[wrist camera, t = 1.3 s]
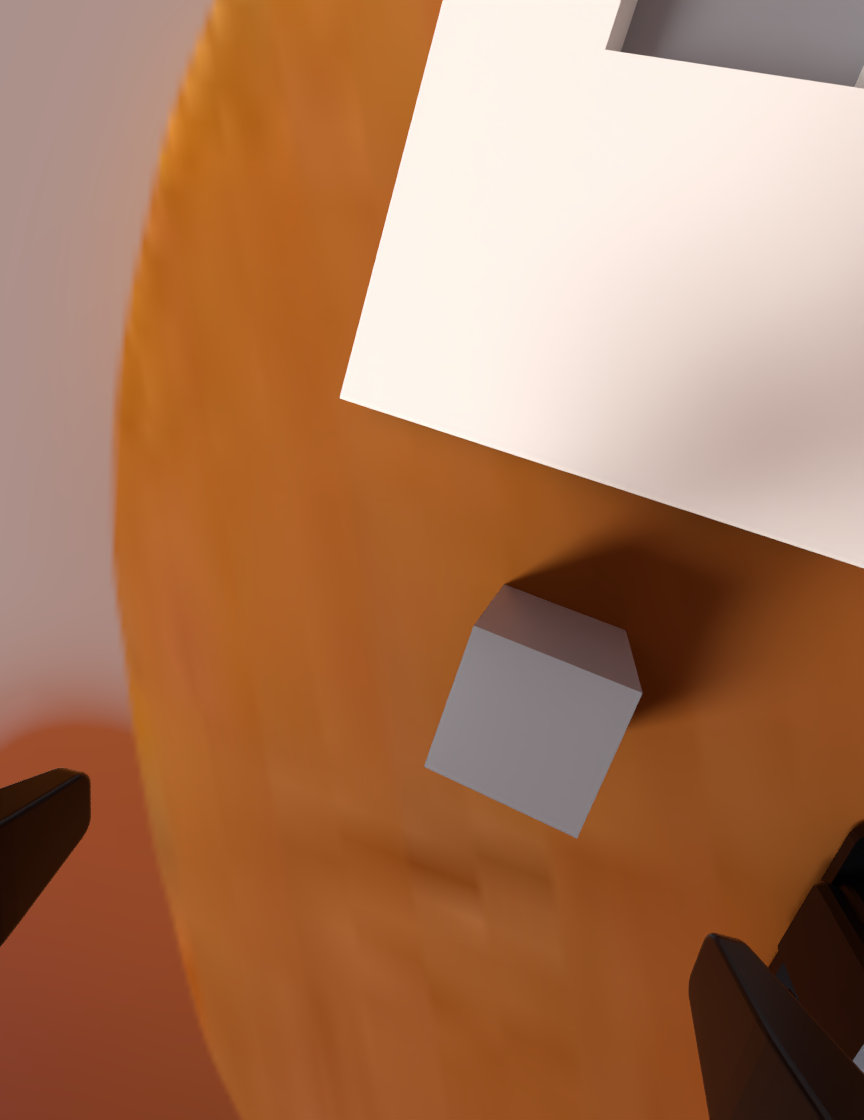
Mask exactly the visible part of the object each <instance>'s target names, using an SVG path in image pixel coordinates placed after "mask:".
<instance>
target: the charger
mask: <svg viewBox="0 0 864 1120" xmlns="http://www.w3.org/2000/svg"><path fill="white" fill-rule="evenodd" d="M641 696H642V689H641V685H640V681H639V678H638V674H637V670H636V666H635V663H634V659H633V655H632V651H631V648H630V644H629V640H628V636H627V633H626V630H624V629H621V628H618V627H616V626H613V625H610V624H608V623H605V622H603V621H600V620H597V619H595V618H592V617H589V616H587V615H584V614H581V613H579V612H576V611H573V610H571V609H568V608H566V607H563V606H560V605H558V604H555V603H552V602H550V601H547V600H544V599H542V598H539V597H536V596H534V595H531V594H529V593H526V592H523V591H521V590H518V589H515V588H513V587H510V586H507V585H505V584H504V585H503V586H502V588H501V589H500V591H499V592H498V593H497V595H496V596H495V597H494V599H493V600H492V601H491V603H490V604H489V606H488V607H487V608H486V610H485V611H484V612H483V614H482V615H481V616H480V618H479V619H478V621H477V622H476V623H475V625H474V627H473V629H472V632H471V635H470V638H469V641H468V644H467V646H466V649H465V652H464V655H463V658H462V661H461V663H460V666H459V669H458V672H457V675H456V678H455V680H454V683H453V686H452V689H451V692H450V695H449V697H448V700H447V703H446V706H445V709H444V711H443V714H442V717H441V720H440V723H439V726H438V728H437V731H436V734H435V737H434V740H433V743H432V745H431V748H430V751H429V754H428V757H427V760H426V762H425V765H424V767H426V768H428V769H430V770H432V771H434V772H436V773H439V774H441V775H443V776H445V777H447V778H449V779H451V780H454V781H456V782H458V783H460V784H462V785H464V786H466V787H468V788H471V789H473V790H475V791H477V792H479V793H481V794H483V795H485V796H488V797H490V798H492V799H494V800H496V801H498V802H500V803H503V804H505V805H507V806H509V807H511V808H513V809H515V810H517V811H520V812H522V813H524V814H526V815H528V816H530V817H532V818H534V819H537V820H539V821H541V822H543V823H545V824H547V825H549V826H552V827H554V828H556V829H558V830H560V831H562V832H564V833H566V834H569V835H571V836H573V837H575V838H577V837H578V835H579V833H580V831H581V828H582V826H583V824H584V822H585V820H586V817H587V815H588V813H589V811H590V808H591V806H592V804H593V802H594V800H595V797H596V795H597V793H598V791H599V789H600V786H601V784H602V782H603V780H604V777H605V775H606V773H607V771H608V769H609V766H610V764H611V762H612V760H613V758H614V755H615V753H616V751H617V749H618V746H619V744H620V742H621V740H622V738H623V735H624V733H625V731H626V729H627V727H628V724H629V722H630V720H631V718H632V715H633V713H634V711H635V709H636V707H637V704H638V702H639V700H640V698H641Z"/></svg>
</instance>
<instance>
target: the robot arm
mask: <svg viewBox="0 0 864 1120" xmlns="http://www.w3.org/2000/svg"><path fill="white" fill-rule="evenodd" d="M90 788H91V786H90V778H89V776H88V775H87V774H85V773H84V772H80V771H76V770H72V769H68V768H57V769H54V770H51V771H48V772H46V773H43V774H40V775H37V776H34V777H32V778H29V779H26V780H23V781H20V782H18V783H15V784H12V785H9V786H7V787H4V788H1V789H0V946H1V945H2V944H3V943H4V942H5V940H6V939H7V938H8V936H9V935H10V934H11V933H12V931H13V930H14V929H15V928H16V926H17V924H19V922H20V921H21V920H22V918H23V916H25V914H26V913H27V912H28V910H29V909H30V907H31V906H32V905H33V903H34V902H35V900H36V899H37V898H38V897H39V895H40V894H41V893H42V891H43V890H44V889H45V887H46V886H47V885H48V883H49V882H50V881H51V879H52V878H53V877H54V875H55V874H56V873H57V871H58V870H59V868H60V867H61V866H62V864H63V863H64V862H65V860H66V859H67V858H68V856H69V855H70V854H71V852H72V851H73V850H74V848H75V847H76V846H77V844H78V843H79V841H80V840H81V839H82V837H83V836H84V834H85V833H86V831H87V829H88V826H89V823H90V818H91V801H90V800H91V796H90V795H91V791H90ZM778 950H779V951H778V953H777V955H776V956H775V958H774V960H773V961H772V963H771V965H770V966H769V968H768V967H767V966H766V965H765V964H764V963H763V962H762V961H761V959H760V958H759V957H758V956H757V955H756V954H755V953H754V952H753V951H752V950H751V948H750V947H749V946H748V945H747V944H745V943H744V942H743V941H741V940H739V939H736V938H732V937H729V936H725V935H721V934H717V933H710V934H708V935H707V936H706V938H705V940H704V942H703V944H702V947H701V949H700V952H699V955H698V957H697V960H696V962H695V965H694V967H693V970H692V972H691V975H690V980H689V1000H690V1006H691V1012H692V1018H693V1024H694V1030H695V1035H696V1041H697V1047H698V1053H699V1059H700V1065H701V1071H702V1077H703V1083H704V1089H705V1095H706V1101H707V1107H708V1113H709V1119H710V1120H864V826H860V827H858V828H855V829H853V830H852V831H851V832H850V833H849V834H848V836H847V838H846V839H845V841H844V843H843V844H842V846H841V848H840V849H839V851H838V853H837V854H836V856H835V858H834V859H833V861H832V863H831V864H830V866H829V868H828V869H827V871H826V873H825V874H824V876H823V878H822V879H821V881H820V882H819V883H817V884H815V885H814V886H813V887H812V889H811V891H810V892H809V894H808V896H807V897H806V899H805V901H804V903H803V904H802V906H801V908H800V909H799V911H798V913H797V914H796V916H795V918H794V919H793V921H792V923H791V924H790V926H789V928H788V929H787V931H786V933H785V934H784V936H783V938H782V939H781V941H780V943H779V945H778Z"/></svg>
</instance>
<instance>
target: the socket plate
mask: <svg viewBox="0 0 864 1120" xmlns="http://www.w3.org/2000/svg"><path fill="white" fill-rule="evenodd" d="M340 399H343V400H346V401H349V402H353V403H356V404H359V405H362V406H365V407H368V408H371V409H374V410H377V411H380V412H383V413H386V414H390V415H393V416H396V417H399V418H402V419H405V420H408V421H411V422H414V423H417V424H420V425H423V426H427V427H430V428H433V429H436V430H439V431H442V432H445V433H448V434H451V435H454V436H457V437H460V438H464V439H467V440H470V441H473V442H476V443H479V444H482V445H485V446H488V447H491V448H494V449H497V450H501V451H504V452H507V453H510V454H513V455H516V456H519V457H522V458H525V459H528V460H531V461H534V462H538V463H541V464H544V465H547V466H550V467H553V468H556V469H559V470H562V471H565V472H568V473H571V474H575V475H578V476H581V477H584V478H587V479H590V480H593V481H596V482H599V483H602V484H605V485H608V486H612V487H615V488H618V489H621V490H624V491H627V492H630V493H633V494H636V495H639V496H642V497H645V498H649V499H652V500H655V501H658V502H661V503H664V504H667V505H670V506H673V507H676V508H679V509H682V510H686V511H689V512H692V513H695V514H698V515H701V516H704V517H707V518H710V519H713V520H716V521H719V522H723V523H726V524H729V525H732V526H735V527H738V528H741V529H744V530H747V531H750V532H753V533H756V534H760V535H763V536H766V537H769V538H772V539H775V540H778V541H781V542H784V543H787V544H790V545H794V546H797V547H800V548H803V549H806V550H809V551H812V552H815V553H818V554H821V555H824V556H827V557H831V558H834V559H837V560H840V561H843V562H846V563H849V564H852V565H855V566H858V567H861V568H864V0H443V2H442V6H441V10H440V14H439V17H438V21H437V25H436V29H435V33H434V37H433V41H432V44H431V48H430V52H429V56H428V60H427V64H426V68H425V71H424V75H423V79H422V83H421V87H420V91H419V94H418V98H417V102H416V106H415V110H414V114H413V118H412V121H411V125H410V129H409V133H408V137H407V141H406V145H405V148H404V152H403V156H402V160H401V164H400V168H399V172H398V175H397V179H396V183H395V187H394V191H393V195H392V198H391V202H390V206H389V210H388V214H387V218H386V222H385V225H384V229H383V233H382V237H381V241H380V245H379V249H378V252H377V256H376V260H375V264H374V268H373V272H372V276H371V279H370V283H369V287H368V291H367V295H366V299H365V302H364V306H363V310H362V314H361V318H360V322H359V326H358V329H357V333H356V337H355V341H354V345H353V349H352V353H351V356H350V360H349V364H348V368H347V372H346V376H345V380H344V383H343V387H342V391H341V395H340Z"/></svg>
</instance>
